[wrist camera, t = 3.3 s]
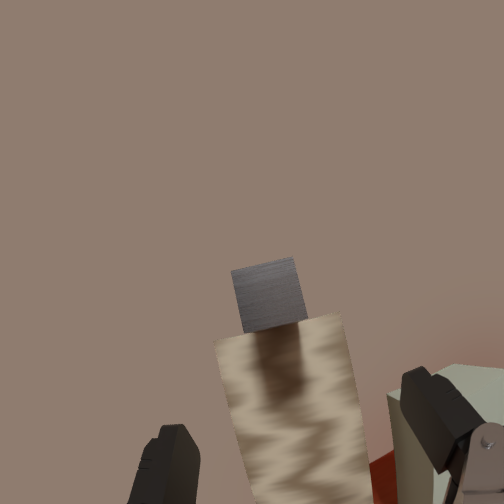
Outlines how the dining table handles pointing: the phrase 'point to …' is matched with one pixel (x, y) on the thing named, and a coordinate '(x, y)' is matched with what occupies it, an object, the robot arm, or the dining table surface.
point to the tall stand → (297, 413)
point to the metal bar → (269, 295)
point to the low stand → (410, 450)
